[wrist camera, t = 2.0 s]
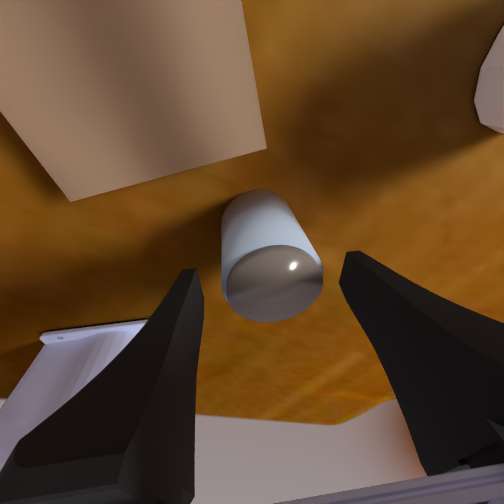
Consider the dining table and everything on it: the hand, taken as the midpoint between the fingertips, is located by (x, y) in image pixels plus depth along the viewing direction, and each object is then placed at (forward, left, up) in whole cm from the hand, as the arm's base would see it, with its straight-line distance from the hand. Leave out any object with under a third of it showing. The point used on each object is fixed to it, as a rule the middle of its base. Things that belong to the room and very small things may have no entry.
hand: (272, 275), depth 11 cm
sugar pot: (0, 0, -5) cm, 5 cm away
